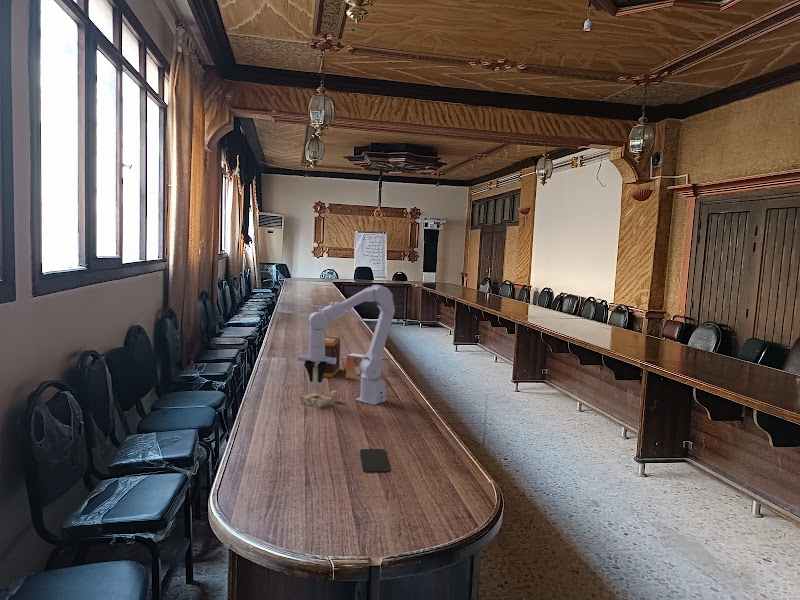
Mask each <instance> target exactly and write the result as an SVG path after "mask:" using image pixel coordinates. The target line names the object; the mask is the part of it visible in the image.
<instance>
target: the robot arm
mask: <svg viewBox="0 0 800 600" xmlns="http://www.w3.org/2000/svg"><path fill="white" fill-rule="evenodd" d="M393 298H394V295H393V293H392V292H391V291H390V289H389V288H388V287H387V286H382V285H380V284H372V285H371V286H367V287H366V288H364V289H362V290H361V291H359V292H357V293H356V294H354V295H352V296H351V297H349V298H347V299H345V300H344V301H342V302H339V301H335V302H334V301H332V302H330V303H329V305H327V306H326V307H324V308H319V309H318V311H313V312H312V313H310V314H309V316H308V319H307V323H308V324H309V333H308V354H304V355H303V354H297V355H296V362H305V363H304V367H305V369H306V372H307V374H308V377H309V382H310V383H312V376H313V366H314V365H315V362H319V364H318V382H319V384H320V383H322V381H323V377H324V376H323V374H324V372H325V369H326V367H327V365H328V363H331V364H336V358H332V357H326V356H324V354H325V336H326V326H327V325H328V324H331V323H332V322H334V321H336V320H338V319H339V318H342V317H343V316H344V315H345V313H346V311H347V310H349V309H352V308H354V307H355V306H358V305H360V304H363V303H364V302H369V303H370V302H371V303H374V304H376V306H377V307H378V309H379V315H378V319H377V321H376V322H377V323H376V325H375V328H374V330H373V331H374V332H373V335H372V339H371V342H370V344H369V345H370V346H369V348H368V351H366V353H365V354H364V355H365V357H364V359H363V360H362V361H361V363H360V370H361V371H362V375H361V381H360V391H359V392H360V394H359V395H360V397H357V398H355V401H358V402H362V403H366V404H370V405H373V406H374V405H378V404H381V403H384V402H387V401H388V399H387V383H386V381H385V380H384V379H381V375H382V372H383V368H382V363H383V352H384V348H385V346H386V343H387V338H388V335H389V332H390V328H391V326H392V322H393V319H394V315H395V313H396V312H395V311H396V308H395V303H394V299H393Z"/></svg>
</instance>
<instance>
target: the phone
mask: <svg viewBox="0 0 800 600" xmlns="http://www.w3.org/2000/svg"><path fill="white" fill-rule="evenodd" d="M359 455H360V461H361V466H362V472H363V473H366V474H367V473H369V474H370V473H371V474H372V473H389V472H391V467H390V463H389V460H388V456H387V453H386V450H385V449H383V448H362V449H360V450H359Z"/></svg>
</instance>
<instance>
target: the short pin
mask: <svg viewBox="0 0 800 600" xmlns="http://www.w3.org/2000/svg"><path fill="white" fill-rule="evenodd" d="M330 398H331V404H332V403H333V404H336V403H338V402H339V391H338V390H331V392H330Z"/></svg>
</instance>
